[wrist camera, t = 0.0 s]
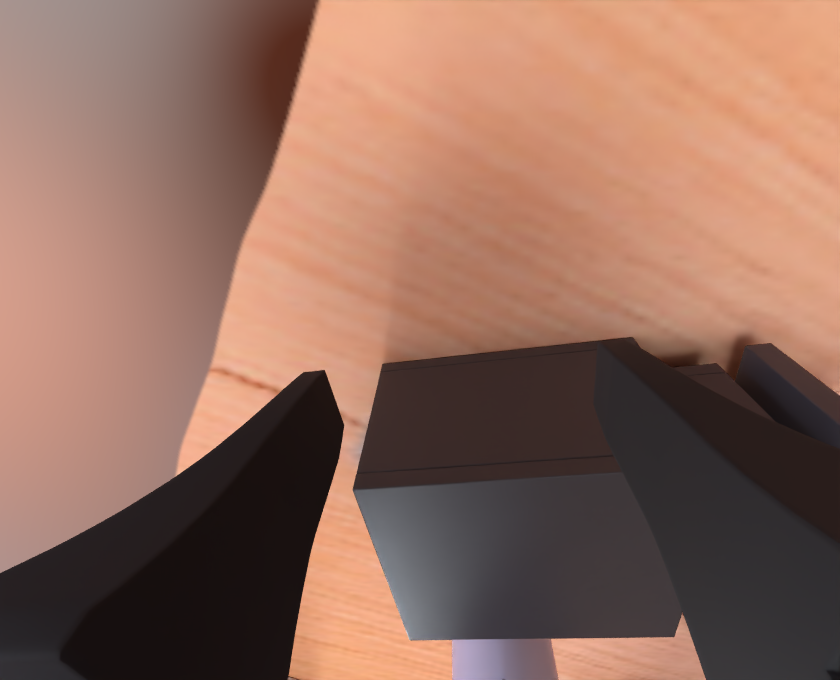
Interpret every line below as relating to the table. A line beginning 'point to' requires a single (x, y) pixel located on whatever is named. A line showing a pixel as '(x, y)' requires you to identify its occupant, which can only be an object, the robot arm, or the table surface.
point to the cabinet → (507, 503)
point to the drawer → (776, 391)
